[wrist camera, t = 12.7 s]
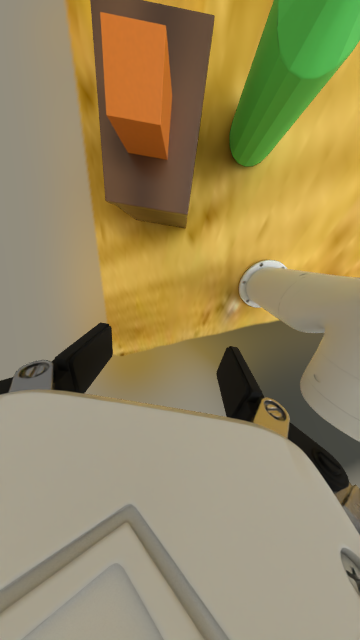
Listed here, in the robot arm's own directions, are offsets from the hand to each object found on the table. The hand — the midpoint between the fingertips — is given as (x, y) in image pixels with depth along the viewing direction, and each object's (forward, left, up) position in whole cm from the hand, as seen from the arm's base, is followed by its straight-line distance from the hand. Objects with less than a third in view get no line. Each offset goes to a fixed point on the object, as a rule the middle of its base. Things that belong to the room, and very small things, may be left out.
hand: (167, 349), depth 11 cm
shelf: (+7, -21, -30) cm, 37 cm away
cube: (+7, -21, -17) cm, 28 cm away
